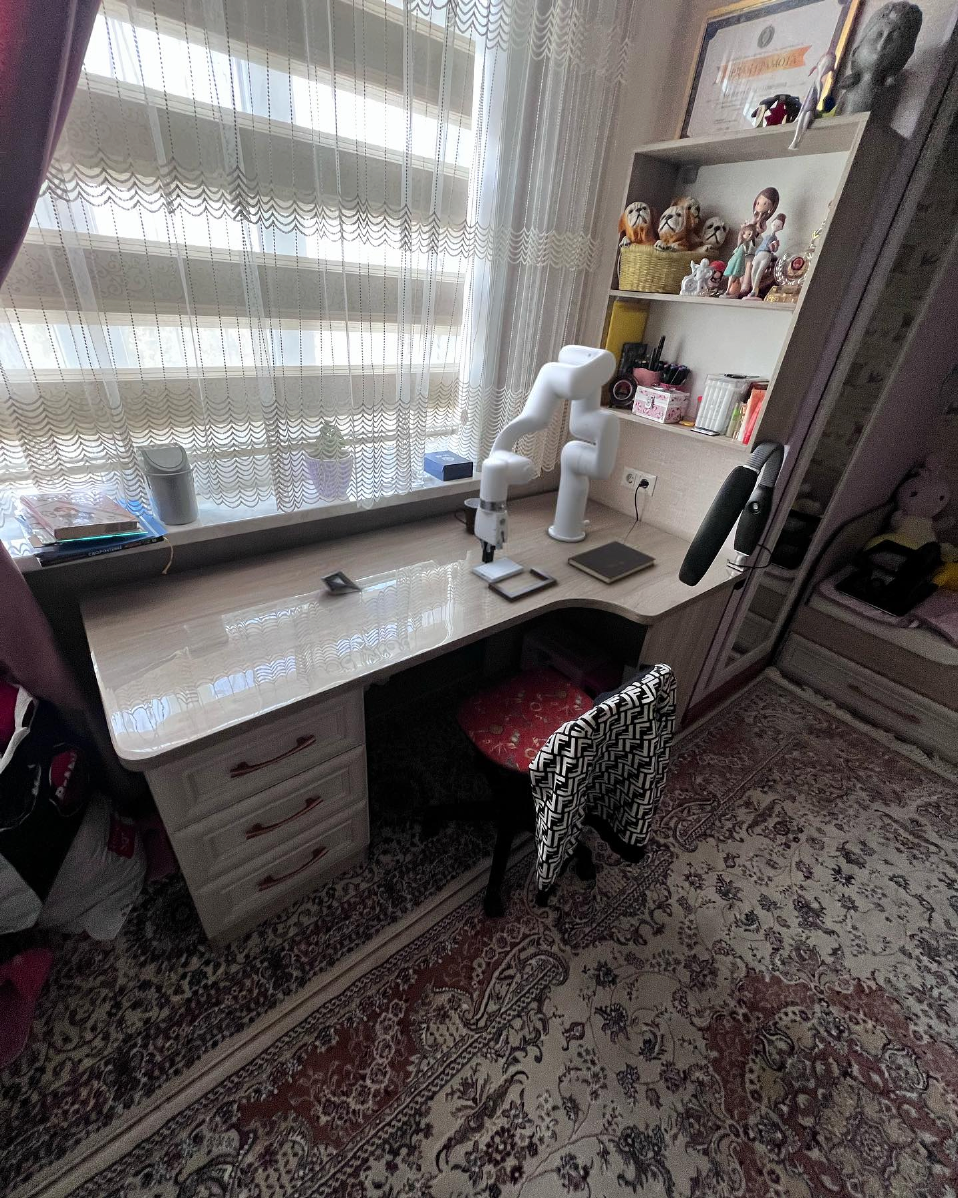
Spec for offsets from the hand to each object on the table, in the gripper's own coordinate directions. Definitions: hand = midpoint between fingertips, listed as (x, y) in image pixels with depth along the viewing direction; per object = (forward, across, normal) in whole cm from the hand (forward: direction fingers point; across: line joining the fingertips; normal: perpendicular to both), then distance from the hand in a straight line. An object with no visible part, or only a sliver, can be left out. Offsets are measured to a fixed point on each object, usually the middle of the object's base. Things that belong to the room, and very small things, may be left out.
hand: (487, 561), depth 158 cm
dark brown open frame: (+1, -15, 0) cm, 15 cm away
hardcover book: (+1, -20, -33) cm, 39 cm away
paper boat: (+2, +9, +44) cm, 45 cm away
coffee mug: (+1, +22, -12) cm, 25 cm away
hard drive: (+1, -5, 0) cm, 5 cm away
